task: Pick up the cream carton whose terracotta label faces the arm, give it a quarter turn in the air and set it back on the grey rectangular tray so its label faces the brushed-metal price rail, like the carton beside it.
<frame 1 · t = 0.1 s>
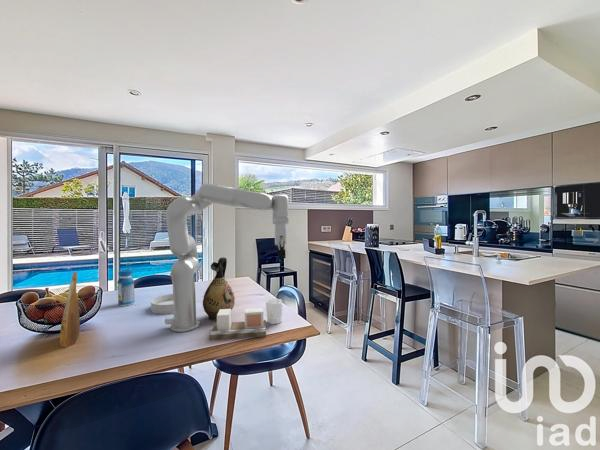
hand: (281, 256, 138), 31 cm above the table, tool pointing down, fingers open, 9 cm apart
beverage bottle: (126, 304, 169), on the table
turned carton: (218, 328, 127), point 2 cm above the table, touching grey rectangular tray
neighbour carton: (254, 328, 126), point 2 cm above the table, touching grey rectangular tray
pancake mix bag: (72, 340, 122), on the table
grey rectangular tray: (239, 331, 127), on the table
white cup: (274, 322, 139), on the table
dish: (172, 307, 163), on the table
ceramic jug: (220, 317, 146), on the table
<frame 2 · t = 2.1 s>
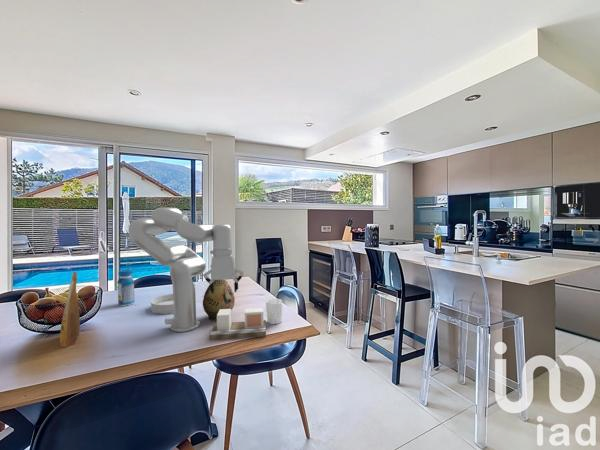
hand: (224, 291, 126), 18 cm above the table, tool pointing down, fingers open, 9 cm apart
nothing on the table moved.
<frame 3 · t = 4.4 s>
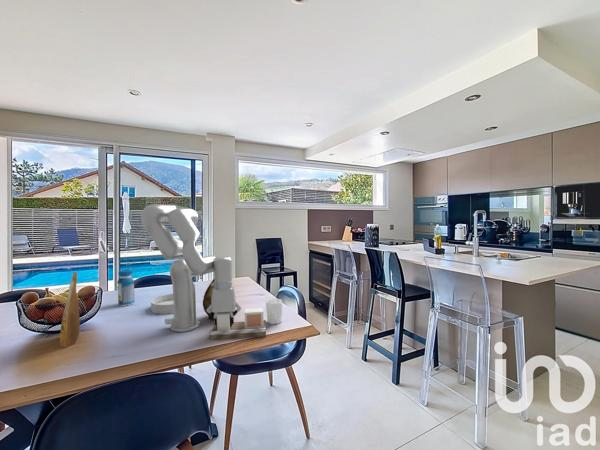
hand: (224, 325, 127), 3 cm above the table, tool pointing down, fingers closed on turned carton, 5 cm apart
turned carton: (218, 328, 127), point 2 cm above the table, touching gripper, grey rectangular tray
everything else where it was.
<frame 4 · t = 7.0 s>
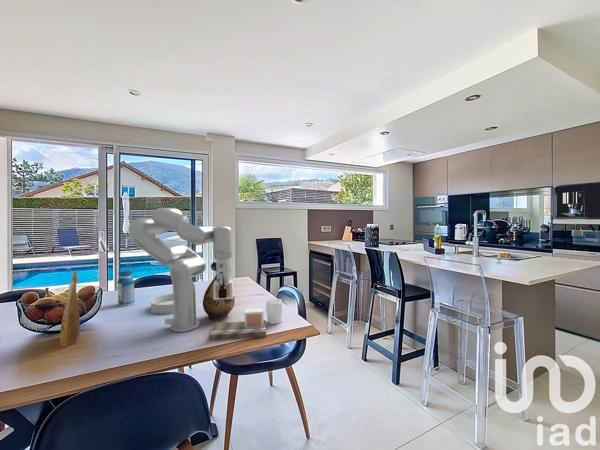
hand: (223, 295, 126), 16 cm above the table, tool pointing down, fingers closed on turned carton, 5 cm apart
turned carton: (223, 299, 124), point 15 cm above the table, touching gripper
everything else where it was.
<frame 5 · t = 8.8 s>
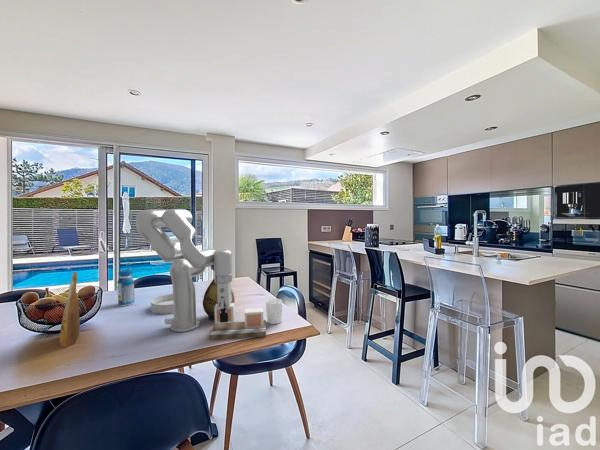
hand: (225, 318, 127), 6 cm above the table, tool pointing down, fingers closed on turned carton, 5 cm apart
turned carton: (224, 323, 124), point 5 cm above the table, touching gripper
everything else where it was.
when the fingers open (4 cm above the table, at t = 10.0 s): turned carton drops 1 cm, resting on grey rectangular tray.
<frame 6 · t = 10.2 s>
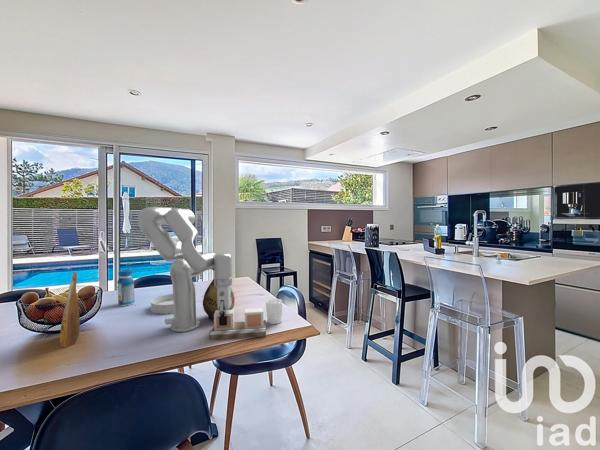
hand: (224, 321, 127), 5 cm above the table, tool pointing down, fingers open, 7 cm apart
turned carton: (223, 329, 125), point 2 cm above the table, touching grey rectangular tray
everything else where it was.
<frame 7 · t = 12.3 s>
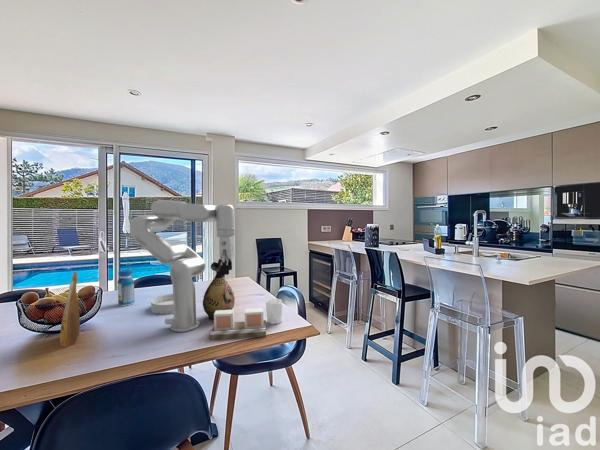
hand: (226, 272, 126), 27 cm above the table, tool pointing down, fingers open, 9 cm apart
nothing on the table moved.
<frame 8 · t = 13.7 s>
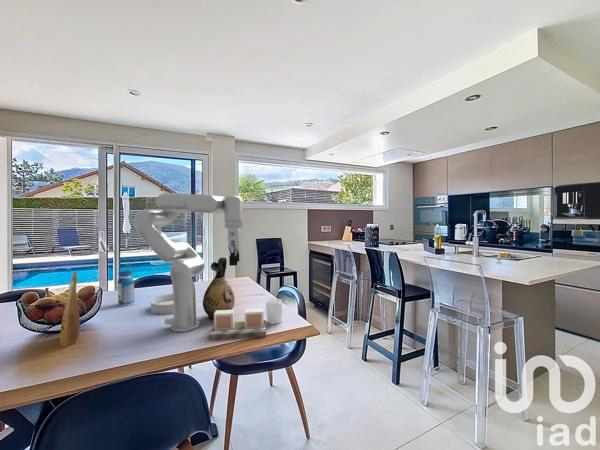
hand: (234, 263, 126), 30 cm above the table, tool pointing down, fingers open, 9 cm apart
nothing on the table moved.
at the end: turned carton 0.1 cm from the target spot, point 2.0 cm above the table; turned carton tilted 0°; the gripper is holding nothing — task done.
